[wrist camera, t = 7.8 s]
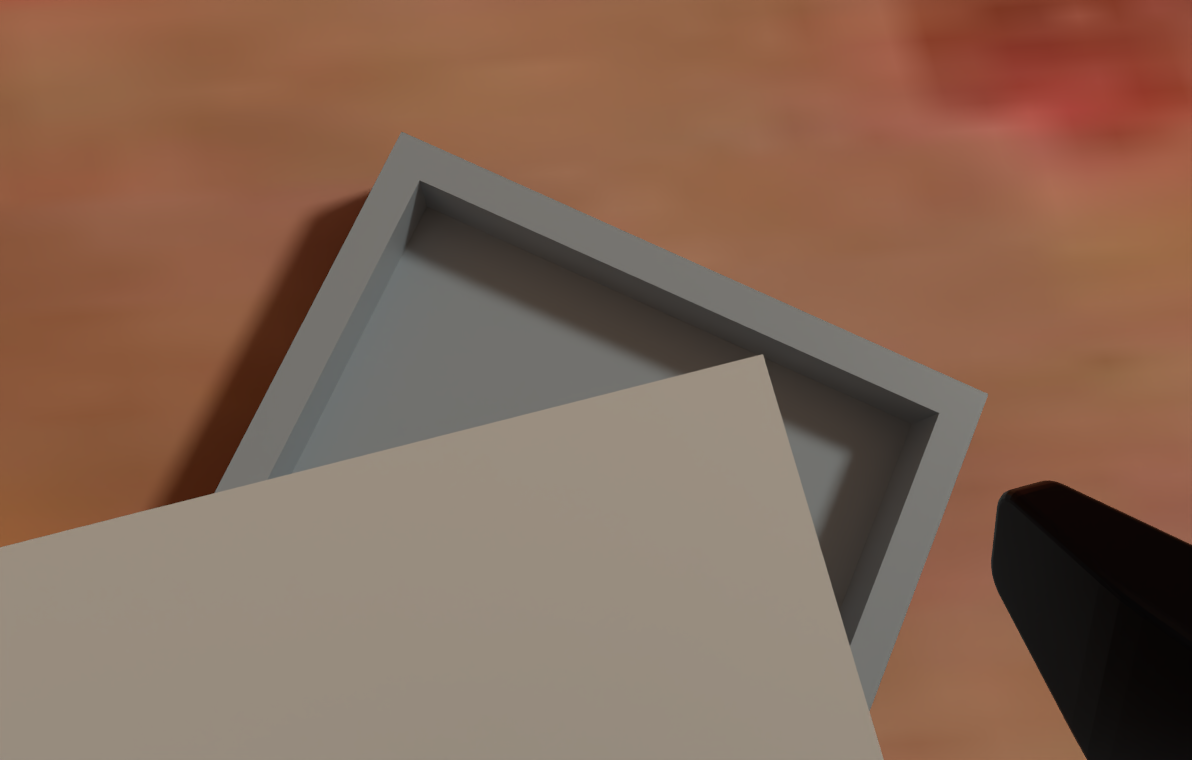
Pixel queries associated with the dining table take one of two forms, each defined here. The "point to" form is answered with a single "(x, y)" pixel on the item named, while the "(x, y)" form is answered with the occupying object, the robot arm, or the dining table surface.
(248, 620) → the grey tall block
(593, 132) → the dining table surface
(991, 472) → the dining table surface
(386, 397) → the tray
